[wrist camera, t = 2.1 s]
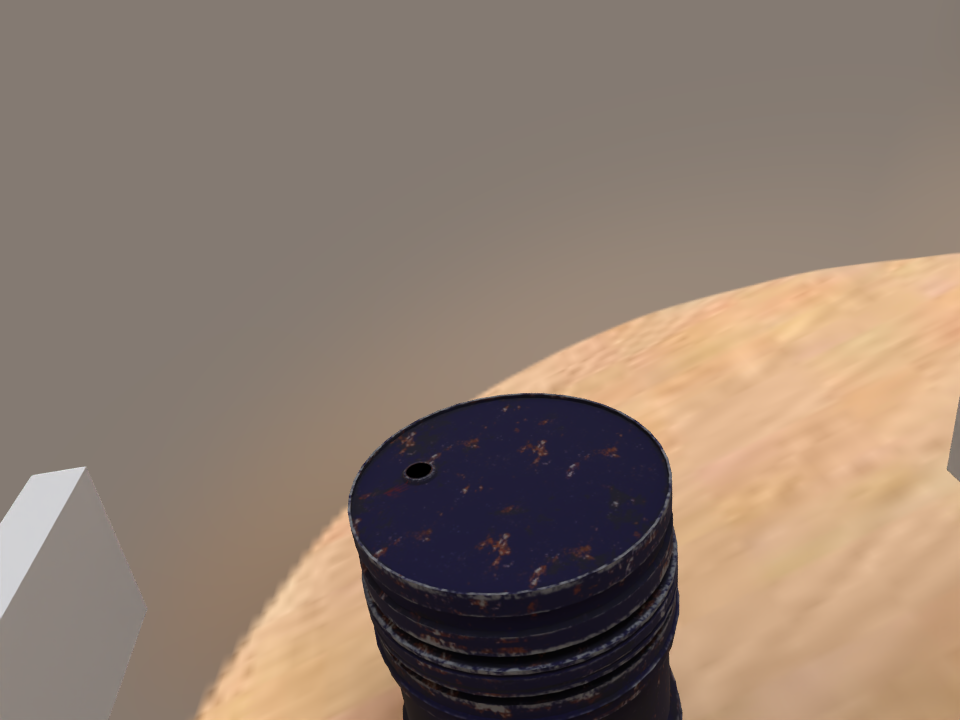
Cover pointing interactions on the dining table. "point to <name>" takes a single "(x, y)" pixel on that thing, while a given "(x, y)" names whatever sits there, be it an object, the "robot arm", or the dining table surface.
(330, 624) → the dining table surface
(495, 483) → the dark blue ribbed cylinder
